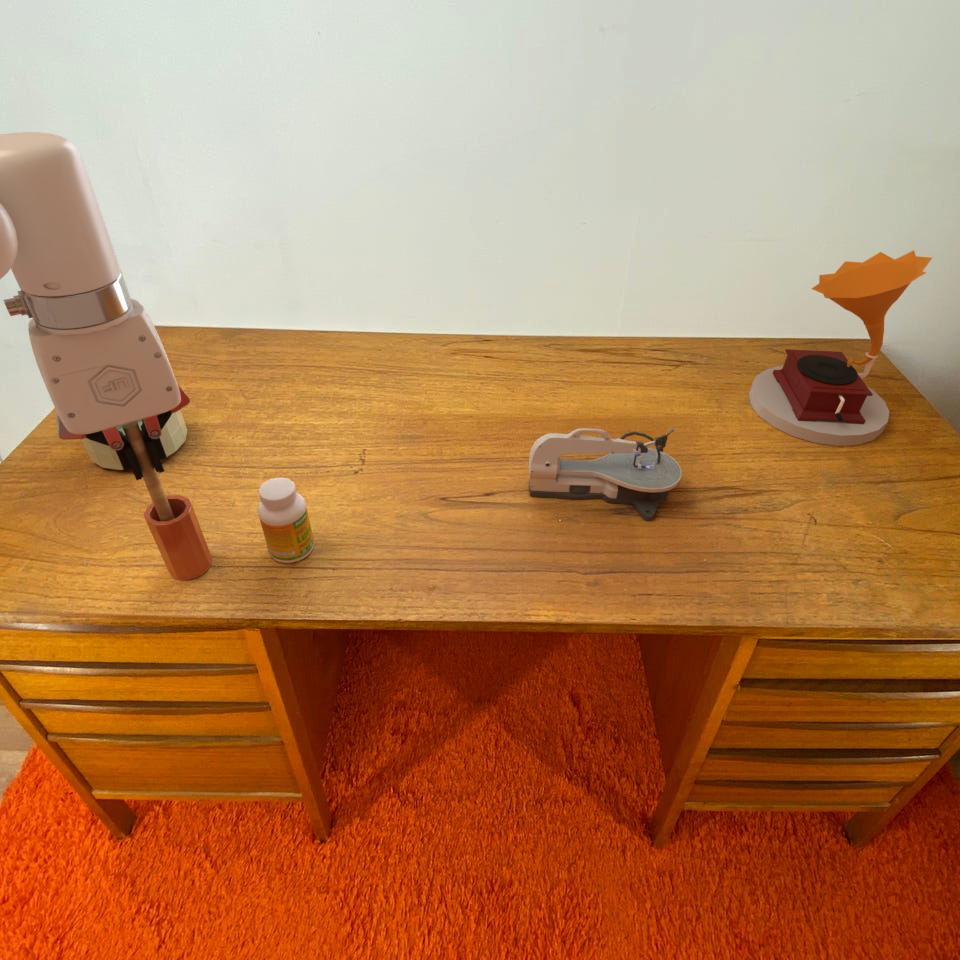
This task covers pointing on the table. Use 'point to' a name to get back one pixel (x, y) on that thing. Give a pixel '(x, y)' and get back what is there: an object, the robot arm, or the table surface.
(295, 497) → the supplement bottle
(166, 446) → the bowl
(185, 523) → the utensil pot
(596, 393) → the table surface
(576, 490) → the jigsaw machine
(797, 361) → the gramophone
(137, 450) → the stick
